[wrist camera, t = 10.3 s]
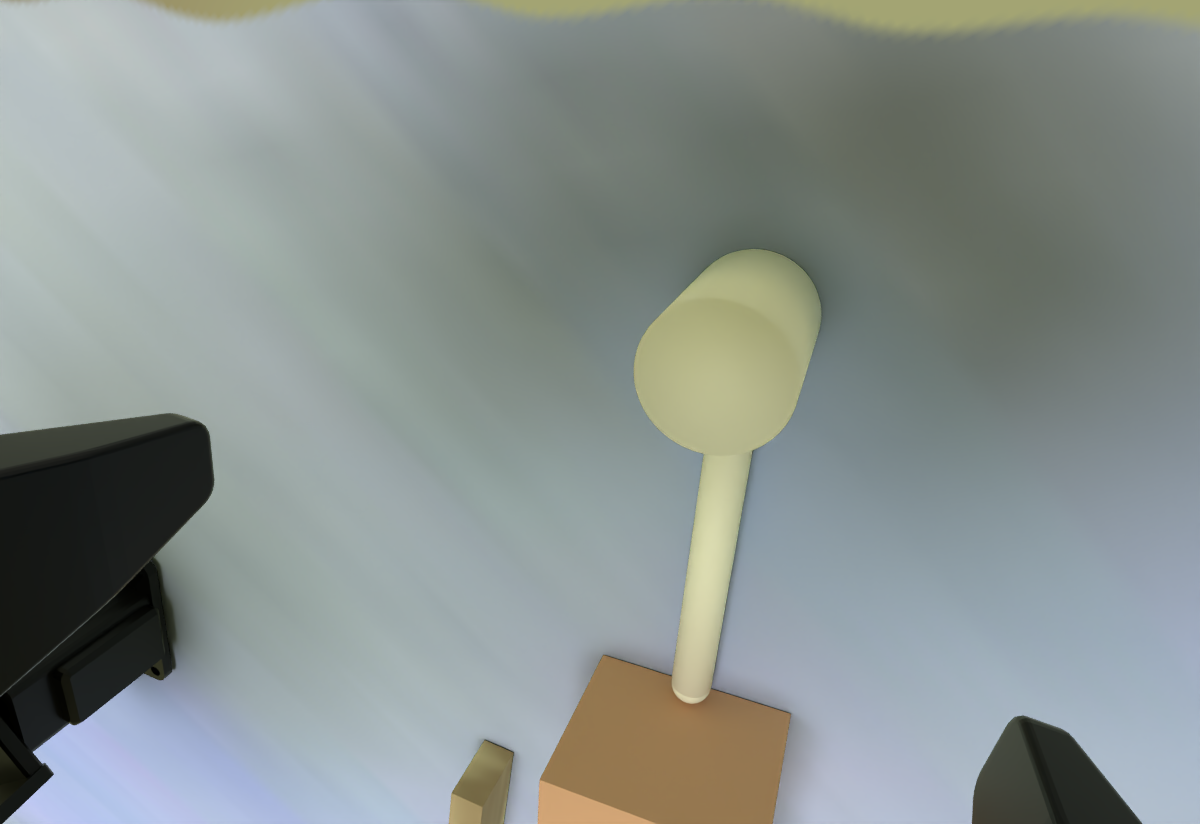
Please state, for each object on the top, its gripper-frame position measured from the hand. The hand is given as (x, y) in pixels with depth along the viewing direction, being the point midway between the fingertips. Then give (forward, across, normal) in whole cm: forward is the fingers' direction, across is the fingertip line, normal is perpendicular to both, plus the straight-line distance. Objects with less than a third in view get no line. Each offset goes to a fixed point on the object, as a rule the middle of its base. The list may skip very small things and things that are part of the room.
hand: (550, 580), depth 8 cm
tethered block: (+12, -1, +9) cm, 15 cm away
